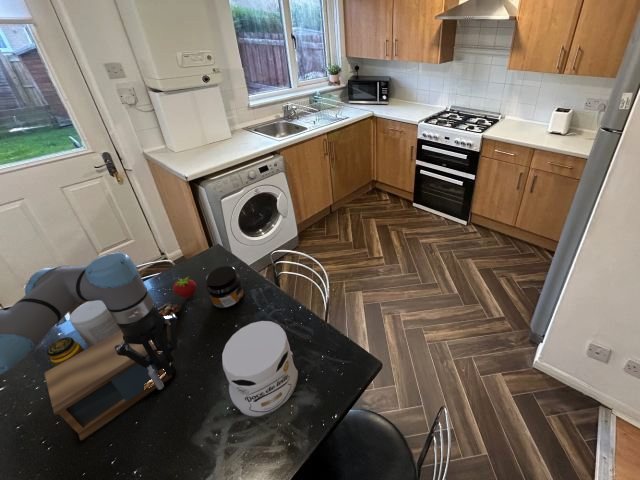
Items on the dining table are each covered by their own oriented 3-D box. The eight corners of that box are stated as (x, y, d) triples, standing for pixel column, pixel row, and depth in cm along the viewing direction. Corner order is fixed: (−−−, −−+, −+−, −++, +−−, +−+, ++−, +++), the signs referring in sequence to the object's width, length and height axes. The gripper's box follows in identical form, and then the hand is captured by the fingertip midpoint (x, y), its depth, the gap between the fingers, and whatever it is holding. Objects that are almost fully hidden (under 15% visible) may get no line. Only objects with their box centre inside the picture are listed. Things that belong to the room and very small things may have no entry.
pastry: (138, 336, 99) (134, 329, 97) (165, 306, 110) (161, 299, 108) (159, 338, 99) (155, 331, 97) (184, 307, 109) (180, 300, 107)
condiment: (87, 380, 87) (65, 354, 81) (51, 387, 86) (27, 361, 80) (101, 356, 93) (82, 330, 88) (68, 362, 92) (47, 336, 86)
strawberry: (184, 290, 116) (176, 270, 111) (203, 292, 115) (196, 272, 111) (174, 303, 111) (164, 283, 106) (194, 304, 110) (185, 284, 105)
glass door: (125, 400, 82) (109, 377, 76) (165, 373, 88) (152, 350, 83) (132, 415, 79) (115, 392, 73) (172, 386, 85) (159, 363, 80)
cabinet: (69, 401, 82) (44, 372, 76) (155, 348, 96) (139, 320, 89) (81, 441, 75) (53, 413, 68) (172, 377, 88) (156, 348, 82)
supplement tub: (136, 325, 103) (117, 294, 95) (121, 352, 95) (100, 319, 87) (102, 331, 101) (81, 299, 94) (85, 358, 93) (60, 326, 86)
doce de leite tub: (273, 433, 76) (259, 393, 67) (219, 406, 81) (199, 366, 73) (311, 368, 90) (304, 328, 82) (263, 349, 96) (251, 309, 87)
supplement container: (231, 314, 107) (222, 289, 101) (206, 307, 109) (196, 282, 103) (250, 292, 116) (244, 267, 110) (227, 285, 118) (219, 262, 112)
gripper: (105, 340, 65) (146, 401, 77) (172, 303, 74) (200, 362, 86) (96, 321, 70) (136, 381, 81) (161, 287, 78) (189, 346, 90)
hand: (169, 371), depth 83 cm, fingers closed
